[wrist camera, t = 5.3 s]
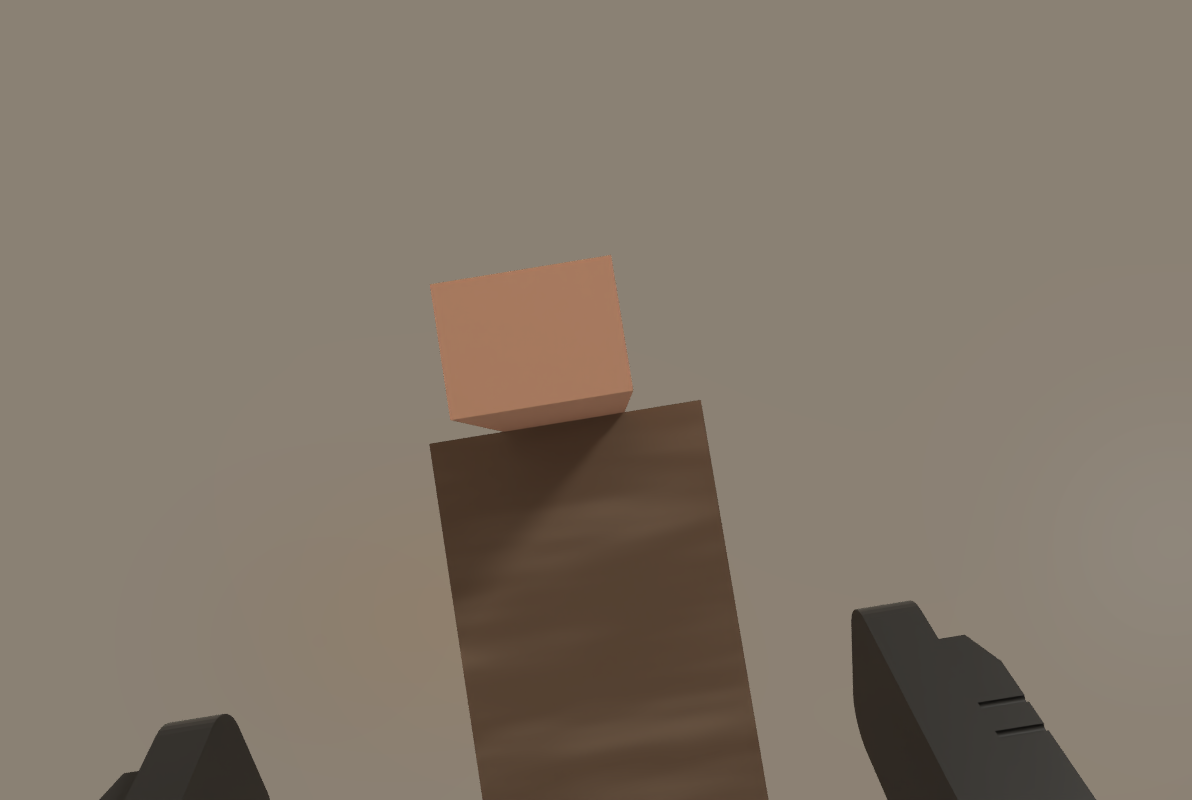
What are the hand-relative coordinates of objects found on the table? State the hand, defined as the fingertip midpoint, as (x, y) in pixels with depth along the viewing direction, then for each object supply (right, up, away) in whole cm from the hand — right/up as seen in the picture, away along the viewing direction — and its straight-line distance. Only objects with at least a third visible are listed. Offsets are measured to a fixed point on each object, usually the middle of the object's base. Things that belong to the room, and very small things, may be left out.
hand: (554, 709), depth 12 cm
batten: (0, +3, +20) cm, 20 cm away
